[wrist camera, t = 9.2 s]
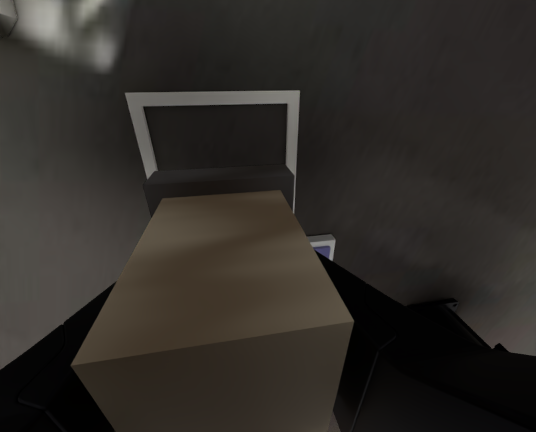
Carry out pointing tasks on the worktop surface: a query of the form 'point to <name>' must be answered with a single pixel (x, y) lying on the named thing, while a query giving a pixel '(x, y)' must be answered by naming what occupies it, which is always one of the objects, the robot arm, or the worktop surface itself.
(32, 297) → the worktop surface
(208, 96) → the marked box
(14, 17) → the milkshake
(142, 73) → the worktop surface
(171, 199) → the wooden stamp
